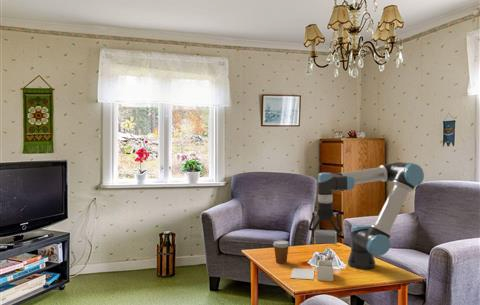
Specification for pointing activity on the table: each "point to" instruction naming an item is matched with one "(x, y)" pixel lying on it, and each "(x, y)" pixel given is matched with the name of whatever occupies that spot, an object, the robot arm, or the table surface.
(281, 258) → the disposable coffee cup
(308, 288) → the table surface
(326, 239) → the lid
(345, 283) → the table surface
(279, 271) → the table surface
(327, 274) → the storage box
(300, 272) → the mat
